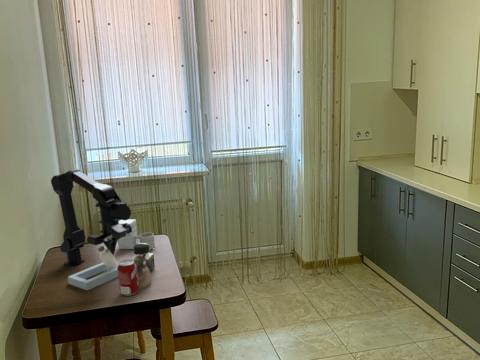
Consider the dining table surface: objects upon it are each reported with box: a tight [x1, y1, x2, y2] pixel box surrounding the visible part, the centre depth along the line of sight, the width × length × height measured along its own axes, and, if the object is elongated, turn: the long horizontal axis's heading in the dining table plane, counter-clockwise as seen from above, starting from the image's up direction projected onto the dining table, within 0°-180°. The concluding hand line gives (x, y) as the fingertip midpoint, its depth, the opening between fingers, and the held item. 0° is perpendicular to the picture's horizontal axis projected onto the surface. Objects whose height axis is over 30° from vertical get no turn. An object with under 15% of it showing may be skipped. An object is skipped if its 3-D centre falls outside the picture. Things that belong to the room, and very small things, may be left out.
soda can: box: [117, 259, 140, 297], centre depth 177 cm, size 7×7×12 cm
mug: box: [134, 232, 156, 251], centre depth 224 cm, size 10×7×7 cm, turn 79°
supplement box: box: [117, 218, 139, 250], centre depth 227 cm, size 7×7×13 cm
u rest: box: [67, 262, 118, 291], centre depth 192 cm, size 12×17×3 cm
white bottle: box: [97, 245, 119, 272], centre depth 196 cm, size 5×5×12 cm
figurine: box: [133, 253, 152, 289], centre depth 184 cm, size 7×7×12 cm
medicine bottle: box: [130, 242, 156, 275], centre depth 195 cm, size 7×7×12 cm
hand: (112, 254), depth 198 cm, fingers closed
